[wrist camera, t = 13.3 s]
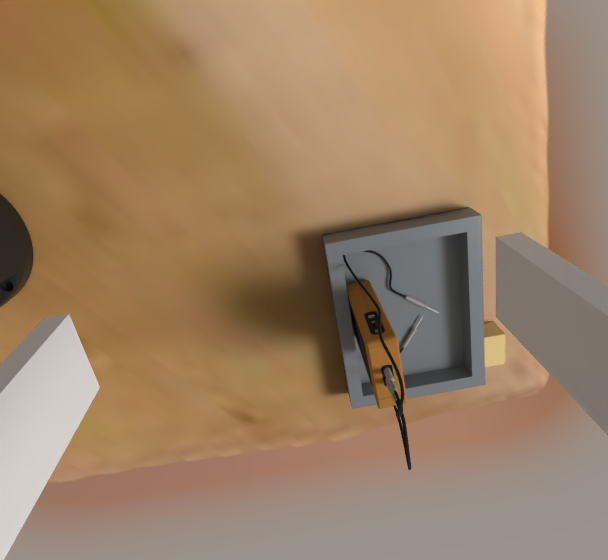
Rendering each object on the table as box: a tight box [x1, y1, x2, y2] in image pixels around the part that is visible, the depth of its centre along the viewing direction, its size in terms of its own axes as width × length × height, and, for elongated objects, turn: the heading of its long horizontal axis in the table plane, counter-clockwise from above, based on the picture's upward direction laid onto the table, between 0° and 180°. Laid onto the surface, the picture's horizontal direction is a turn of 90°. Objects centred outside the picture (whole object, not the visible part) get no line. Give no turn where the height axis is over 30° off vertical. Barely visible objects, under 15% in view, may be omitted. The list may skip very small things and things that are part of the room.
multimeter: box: [343, 250, 439, 470], centre depth 44 cm, size 15×10×20 cm
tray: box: [322, 208, 505, 409], centre depth 52 cm, size 18×21×3 cm
